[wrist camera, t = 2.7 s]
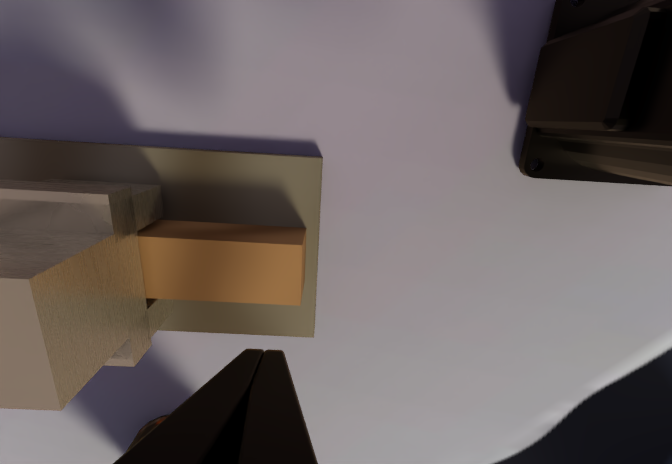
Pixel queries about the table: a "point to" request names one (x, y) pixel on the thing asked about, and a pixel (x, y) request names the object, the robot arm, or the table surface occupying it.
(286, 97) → the table surface
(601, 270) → the table surface
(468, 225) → the table surface
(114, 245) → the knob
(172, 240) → the rail
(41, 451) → the table surface
